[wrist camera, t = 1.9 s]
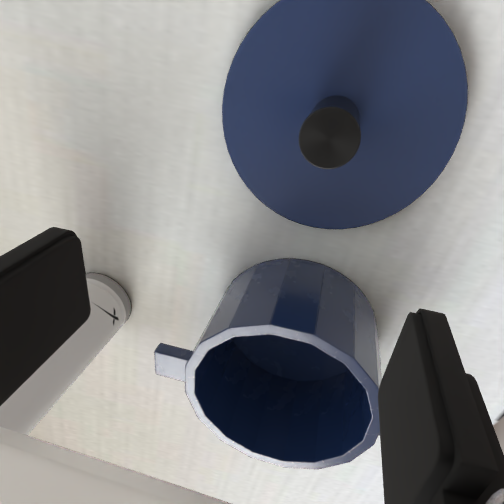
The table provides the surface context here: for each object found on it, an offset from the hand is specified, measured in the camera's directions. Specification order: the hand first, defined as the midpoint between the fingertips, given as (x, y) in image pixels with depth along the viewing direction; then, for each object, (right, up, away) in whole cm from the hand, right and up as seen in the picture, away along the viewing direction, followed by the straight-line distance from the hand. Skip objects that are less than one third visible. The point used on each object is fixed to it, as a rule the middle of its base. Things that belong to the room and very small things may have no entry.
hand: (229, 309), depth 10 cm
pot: (+4, -5, +22) cm, 23 cm away
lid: (+6, +10, +13) cm, 17 cm away
